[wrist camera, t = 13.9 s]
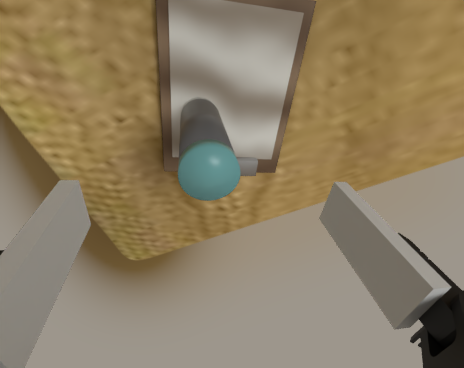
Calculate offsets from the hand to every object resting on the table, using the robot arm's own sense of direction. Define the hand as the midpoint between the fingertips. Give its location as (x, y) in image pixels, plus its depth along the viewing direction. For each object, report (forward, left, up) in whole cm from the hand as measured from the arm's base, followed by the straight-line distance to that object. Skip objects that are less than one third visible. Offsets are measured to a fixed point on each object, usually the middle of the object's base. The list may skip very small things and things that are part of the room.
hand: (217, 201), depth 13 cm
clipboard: (-2, +3, -16) cm, 16 cm away
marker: (0, 0, -15) cm, 15 cm away
